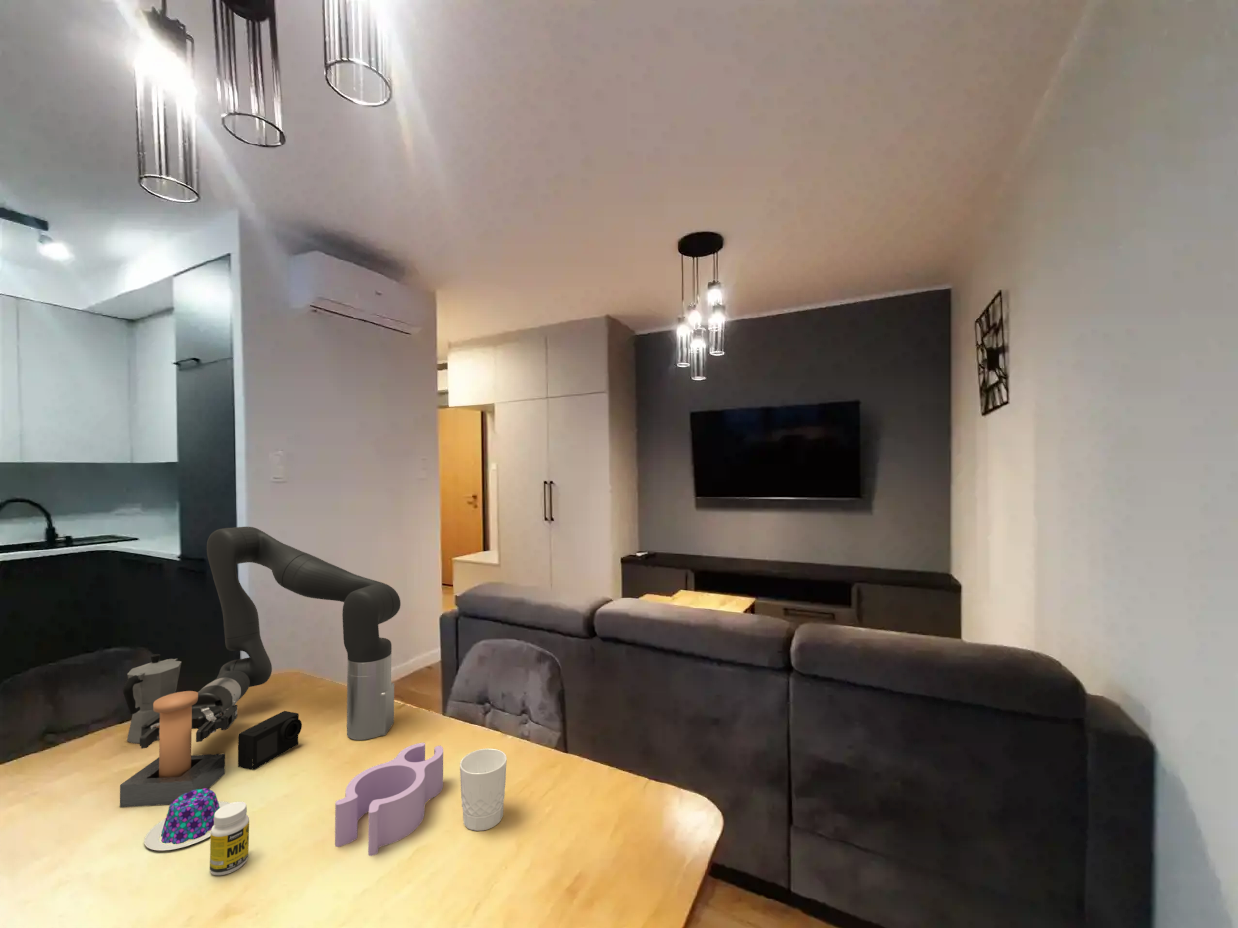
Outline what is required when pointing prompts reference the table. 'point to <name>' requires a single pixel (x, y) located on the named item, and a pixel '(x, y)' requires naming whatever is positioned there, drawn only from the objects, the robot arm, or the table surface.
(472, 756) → the white cup
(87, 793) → the table surface
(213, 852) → the supplement bottle
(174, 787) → the frame
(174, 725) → the orange capped cylinder
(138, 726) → the coffeepot
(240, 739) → the digital camera
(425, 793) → the clip
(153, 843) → the pudding
